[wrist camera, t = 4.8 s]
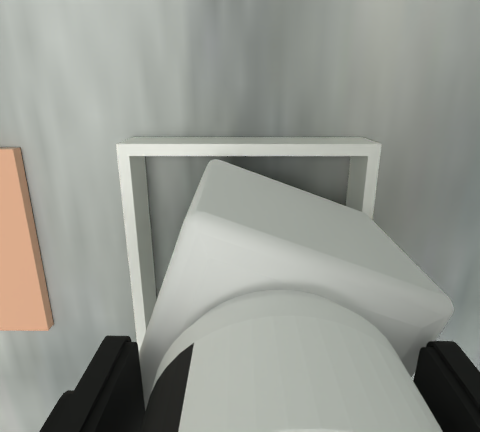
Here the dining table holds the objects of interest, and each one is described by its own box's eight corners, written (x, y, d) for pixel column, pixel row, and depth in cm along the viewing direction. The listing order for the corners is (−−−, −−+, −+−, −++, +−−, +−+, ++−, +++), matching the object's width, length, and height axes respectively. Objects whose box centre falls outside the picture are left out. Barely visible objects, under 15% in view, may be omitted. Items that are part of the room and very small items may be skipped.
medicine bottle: (302, 342, 18) (409, 784, 7) (161, 298, 17) (6, 715, 6) (369, 212, 16) (704, 541, 4) (210, 154, 15) (118, 374, 4)
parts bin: (362, 137, 18) (381, 143, 15) (342, 331, 21) (355, 362, 19) (132, 137, 18) (115, 143, 15) (150, 331, 21) (139, 361, 19)
